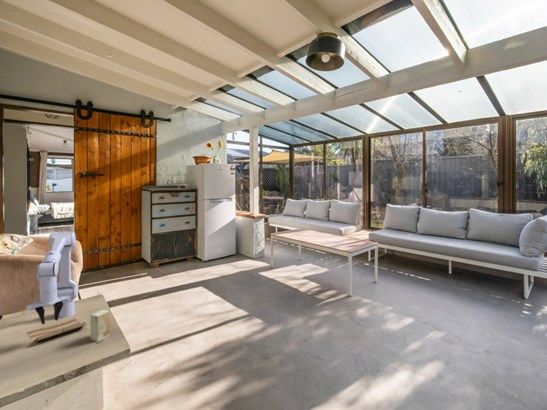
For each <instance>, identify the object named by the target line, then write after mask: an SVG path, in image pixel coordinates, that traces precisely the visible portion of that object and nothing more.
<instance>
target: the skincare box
mask: <svg viewBox="0 0 547 410" xmlns="http://www.w3.org/2000/svg"><path fill="white" fill-rule="evenodd" d="M110 312H111V311H110V310H106V309H100V310H99V311H96V312H94V313H91V314H90V340H91V341H94V342H96V344H100V343H102V342H103V341H105V340H106V339H105V338H107V337H108V336H110V335H111V334H110V333H111V332H110V325H111V324H110V322H111V321H110V316H111V315H110Z"/></svg>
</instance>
